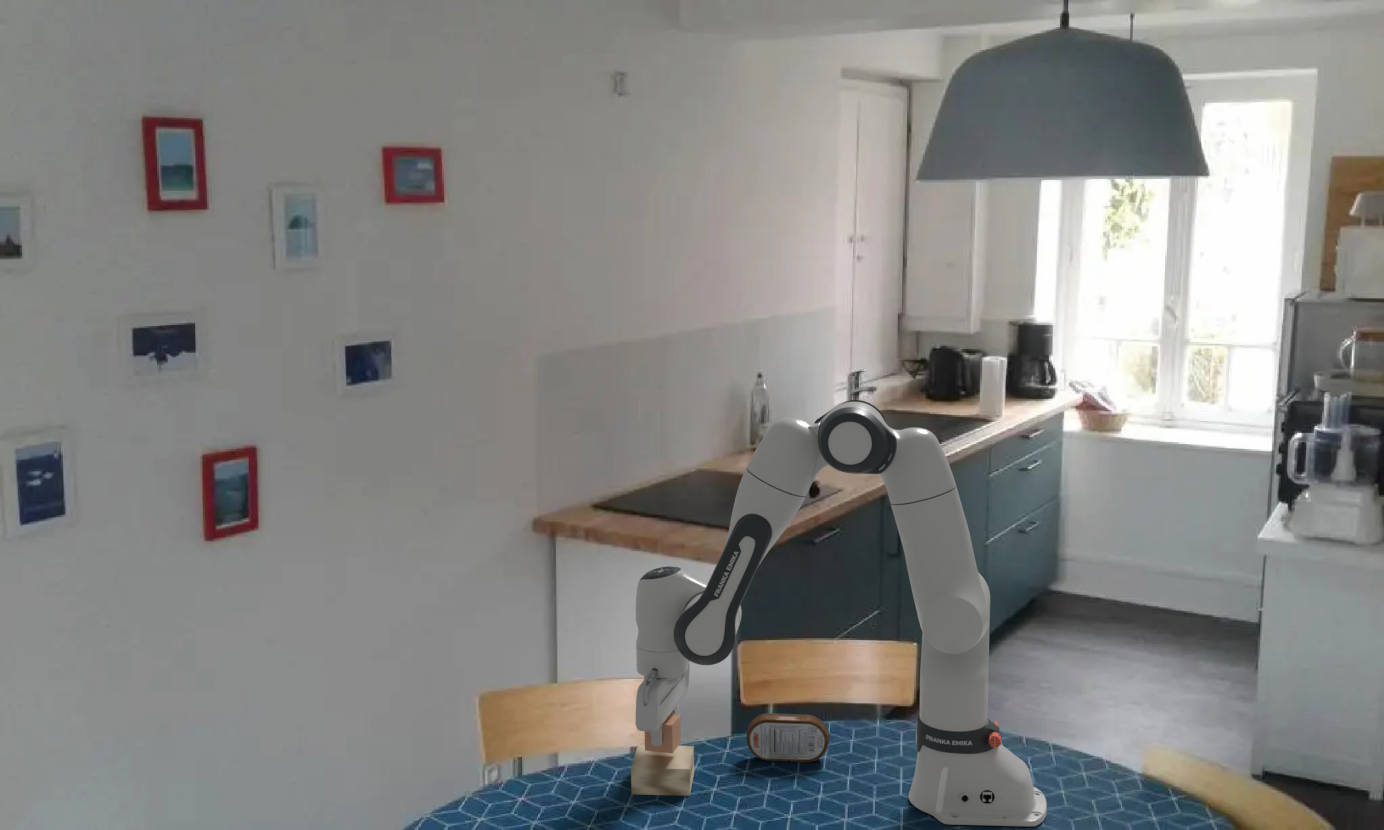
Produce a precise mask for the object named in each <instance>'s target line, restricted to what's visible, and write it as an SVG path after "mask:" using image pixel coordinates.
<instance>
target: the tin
mask: <svg viewBox="0 0 1384 830" xmlns="http://www.w3.org/2000/svg"><path fill="white" fill-rule="evenodd" d="M745 734H746V745H747V748H748V749H749V751H750V752H751V754H752V755H754V756H755V757H756V758H758V759H760V760H763V761H767V762H787V761H790V762H791V763H793V762H795V763H812V762H816V761H818V760H820V759H821V758H822V757H823V756H824V755H825V753H826V752H827V750H828V747H829V743H830V732H829V728H828V726H827V725H826V724H825V722H824V721H822V720H821V718H818V717H816V716H814V715H811V714H798V713H797V714H794V713H793V714H792V713H790V714H789V713H774V712H773V713H768V712H767V713H762V714H758V715H757V716H756V717H754V718H753V719H751V721H750V722H749V724H748V725H747V728H746V732H745Z"/></svg>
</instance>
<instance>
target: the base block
mask: <svg viewBox="0 0 1384 830" xmlns="http://www.w3.org/2000/svg"><path fill="white" fill-rule="evenodd" d="M630 773H631V774H630V779H631V781H630V782H631V785H630V787H631V788H630V789H631V795H642V796H643V795H647V796H650V795H651V796H652V795H653V796H681V797H682V796H687V797H689V796H691V791H692V786H693V780H694V774H695V746H694V745H679V746H678V747H677V748H676V750H675V751H674V752H673V753H663V752H654V751H645V744H637V746H636V751H635V754H634V757H633V760H632V764H631V767H630Z"/></svg>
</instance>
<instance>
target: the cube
mask: <svg viewBox="0 0 1384 830" xmlns="http://www.w3.org/2000/svg"><path fill="white" fill-rule="evenodd" d="M681 719H682V718H681V715H680V714H670V715H669V716H668V717H667V719H666V720H665V721H664V722H663V724H662V725H663V726H662V734H664V742H663V743H662V745H661V746H653V745H652V743H651V734H650V732H645V731H644V745H645V751H654V752H663V753H673V752H674V751H675V750H676V748H677V747H678V746H680V744H681V743H682V738H681V737H682V735H681V731H682V727H681V725H682V724H681Z"/></svg>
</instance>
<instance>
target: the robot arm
mask: <svg viewBox="0 0 1384 830" xmlns="http://www.w3.org/2000/svg"><path fill="white" fill-rule="evenodd" d="M939 441H940V440H938V438H937V436H936V435H935V434H934V433H933V431H930V430H928V429H926V428H923V427H907V428H906V427H905V428H903V429H894V428H892V427H891V426H889V425H888V424H887V421H886V419H885V417H884V415H883V413H882V412H881V410H880V409H879V408H877V406H875V405H874V404H871V402H868V401H865V400H862V399H852V400H851V399H850V400H847V401H843V402H841V403H839V404H838V405H836V406H834V407H833V408H832V409H830V410H828V411H827V412H826V413H825V414H823V415H821V416H820V417H819V418H817V419H816V420H815V421H814V422H813V423H811V422H808V421H806V420H804V419H801V418H797V417H782V418H780V419H778V420H776V421H775V422H774V423H773V424H771V426H770V428H769V429H768V430H767V431H766V433H765V435H764V436H763V437H762V439H761V441H760V442H759V444H758V445H757V447H756V449H755V451H754V452H753V454H752V456H751V458H750V460H749V462H748V464H747V466H746V468H745V470H744V472H743V474H742V477H741V480H740V482H739V484H738V487H737V491H736V494H735V499H734V504H733V507H732V511H731V517H730V523H729V526H728V527H729V528H728V533H727V537H726V540H725V543H724V547H723V550H722V553H721V554H720V557H719V559H718V561H717V563H716V565H715V567H714V570H713V572H712V574H711V575H710V578H709V580H708V582H705V581H703V580H700V579H698V578H696V577H694V576H691V575H690V574H689V573H687V572H686V571H684V569H683V568H681V567H678V566H672V565H671V566H660V567H655V568H654V569H651V570H649V571H647V572H646V573H644V575H642V577H641V578H640V579H639V581H638V583H637V588H636V595H635V596H636V597H635V623H636V625H637V630H638V631H637V637H636V642H635V643H636V644H635V649H636V650H635V653H636V654H635V655H636V673H638V674H639V675H640V676H643V681H642V682H641V683H640V684H639V686H638V688H637V691H636V697H635V698H636V699H635V727H636V729H637V731H639V732H644V733H645V732H650V734H651V743H652V745H653V746H661V745H662V743H663V742H664V734H662V726H663V725H662V724H663V722H664V721H665V720H666V719H667V717H668V716H669V715H670V714H675V715H677V714H676V713H677V710H678V709H677V708H678V707H677V706H678V705H679V704H680V702H681V701H682V700H683V699H684V697H686V695H687V693H688V690H689V683H690V665H691V664H690V663H693V664H696V665H698V666H699V665H700V666H713V665H716V664H719V663H721V662H723V661H725V660H726V658H728V657H729V656H730V655H731V653H732V651H733V649H734V646H735V642H736V637H737V633H738V630H739V627H740V623H741V621H742V616H743V610H742V609H743V607H742V602H743V600H744V599H745V595H746V594H747V591H748V589H749V587H750V585H751V583H752V580H753V579H754V576H755V574H756V572H757V570H758V569H759V566H760V565H761V563H762V562H763V560H764V558H765V557H766V556H767V554H768V553H769V551H771V549H772V548H773V546H774V545H775V544H776V543H777V541H778V540H779V539H780V537H781V536H782V535H783V533H784V532H785V531H786V530H787V528H788V527H789V526H790V525H791V523H792V522H793V520H794V519H795V517H796V516H797V514H798V513H799V510H800V509H801V507H802V505H803V504H804V502H805V500H806V497H807V495H808V493H809V491H810V490H811V489H810V488H811V487H812V485H813V483H814V481H815V479H816V477H817V476H818V474H819V473H820V471H822V470H823V469H824V468H825V467H828V466H829V467H831V468H833V469H834V470H836V471H838V472H842V473H845V474H852V475H853V474H856V475H858V474H859V475H863V474H864V475H879V476H881V478H882V481H883V483H884V486H885V488H886V491H887V495H888V499H889V503H890V507H891V511H892V513H893V516H894V520H895V524H896V527H897V531H898V534H899V538H900V541H901V545H902V548H903V549H902V550H903V552H904V558H905V565H906V569H907V574H908V578H909V584H910V588H911V592H912V597H913V601H914V605H915V609H916V615H917V618H918V622H919V625H920V629H921V631H922V637H921V654H920V655H921V657H920V668H919V669H920V670H919V671H920V672H919V673H920V675H919V677H920V680H919V714H918V715H917V719H916V723H915V745H916V751H917V753H916V754H917V756H916V764H915V769H914V775H913V779H912V783H911V786H910V790H909V792H908V800H909V802H910V803H911V804H912V805H913V806H914V807H915V808H916V809H918V810H919V811H921V812H923V813H927V815H930V816H933V817H934V818H935V819H936V820H938V822H940V823H941V824H944V825H953V826H954V825H957V826H959V825H961V826H965V825H966V826H992V827H993V826H995V827H997V826H998V827H1000V826H1002V827H1037V826H1039V825H1040V824H1041V823H1043V822H1044V821H1045V819H1046V817H1047V813H1048V804H1047V798H1046V796H1045V795H1044V793H1043V792H1042V791H1041V790H1040V788H1039V789H1038V788H1037V787H1035V786H1034V784H1033V778H1032V775H1031V772H1030V769H1029V767H1028V765H1027V764H1026V763H1025V761H1023V760H1022V759H1021V758H1019V757H1018V756H1017V755H1015V754H1014V753H1013V752H1011V751H1010V750H1009V749H1008V748H1007V747H1005V746H1004V745H1003V744H1002V736H1001V733H1000V731H1001V730H1000V727H999V722H998V721H997V720H994V722H993V721H992V720H990V718H988V702H989V701H988V695H989V662H990V661H989V660H990V659H989V657H990V656H989V655H990V628H991V627H990V625H991V624H990V621H991V619H990V617H991V592H990V588H989V585H988V583H987V582H986V580H985V578H984V577H983V576H982V575H981V573H980V572H979V570H978V566H977V561H976V558H975V557H976V556H975V552H974V549H973V548H974V546H973V542H972V538H971V534H970V530H969V526H968V522H967V520H966V519H967V518H966V515H965V512H964V508H963V504H962V502H961V498H960V494H959V491H958V488H957V484H956V481H955V478H954V474H953V471H952V469H951V466H950V463H949V460H948V459H947V456H946V454H945V452H944V450H943V448H942V445H941V443H940V442H939Z"/></svg>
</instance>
